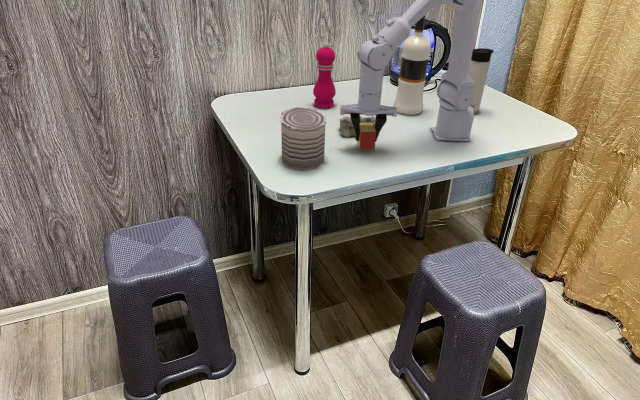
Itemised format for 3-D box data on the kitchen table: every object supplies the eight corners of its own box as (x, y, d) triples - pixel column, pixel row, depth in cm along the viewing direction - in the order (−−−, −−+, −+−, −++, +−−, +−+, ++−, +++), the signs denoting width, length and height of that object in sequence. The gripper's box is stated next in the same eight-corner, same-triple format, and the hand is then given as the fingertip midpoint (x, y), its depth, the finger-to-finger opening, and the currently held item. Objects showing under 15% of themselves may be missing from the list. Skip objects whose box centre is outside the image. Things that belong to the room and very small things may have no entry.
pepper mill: (335, 109, 150) (338, 45, 139) (312, 108, 150) (313, 45, 139) (335, 101, 156) (337, 39, 145) (313, 100, 156) (314, 38, 145)
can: (324, 149, 126) (325, 107, 120) (326, 170, 117) (327, 126, 110) (281, 149, 126) (280, 107, 119) (279, 170, 116) (279, 125, 110)
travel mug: (475, 116, 149) (489, 52, 138) (455, 111, 152) (468, 48, 141) (482, 110, 153) (496, 48, 142) (463, 105, 156) (476, 44, 145)
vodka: (391, 114, 148) (404, 13, 132) (394, 103, 156) (406, 7, 140) (421, 117, 147) (437, 16, 131) (422, 106, 155) (438, 9, 138)
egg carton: (340, 137, 133) (340, 124, 131) (338, 126, 139) (339, 113, 137) (377, 138, 133) (379, 124, 131) (374, 127, 140) (375, 114, 138)
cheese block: (371, 139, 130) (372, 123, 127) (374, 149, 125) (376, 132, 122) (356, 139, 129) (358, 122, 127) (359, 149, 125) (361, 132, 122)
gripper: (341, 95, 115) (339, 145, 123) (401, 97, 115) (394, 147, 123) (341, 85, 121) (338, 134, 129) (397, 87, 121) (391, 135, 129)
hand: (365, 139), depth 126 cm, fingers closed on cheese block, 4 cm apart
